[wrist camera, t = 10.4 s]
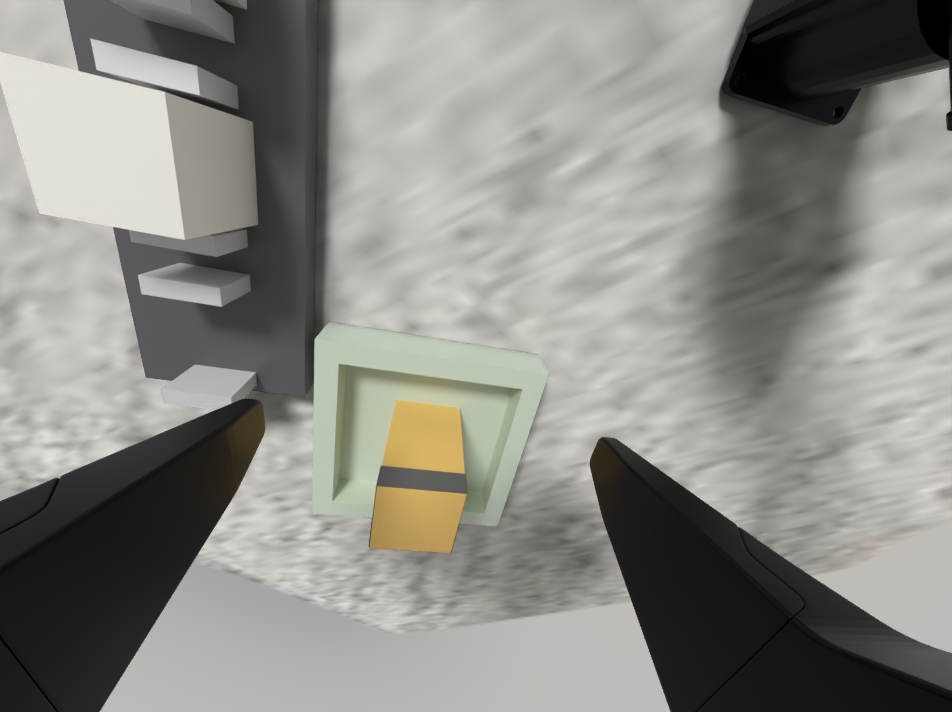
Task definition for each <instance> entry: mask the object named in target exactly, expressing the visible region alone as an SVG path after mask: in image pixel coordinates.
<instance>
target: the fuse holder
mask: <svg viewBox="0 0 952 712" xmlns="http://www.w3.org/2000/svg"><path fill="white" fill-rule="evenodd" d="M64 4H65V9H66V13H67V18H68V23H69V27H70V32H71V36H72V41H73V46H74V50H75V55H76V59H77V64H78V69H79V71H81V72H85V73H89V74H93V75H97V76H101V77H105V78H109V79H113V80H117V81H122V82H126V83H130V84H134V85H138V86H142V87H146V88H150V89H154V90H159V91H163V92H166V93H169V94H172V95H175V96H178V97H181V98H184V99H187V100H190V101H193V102H196V103H199V104H202V105H205V106H208V107H210V108H213V109H216V110H219V111H222V112H225V113H228V114H231V115H234V116H237V117H240V118H243V119H246V120H249V121H252V122H253V132H254V152H255V171H256V190H257V209H258V225H255V226H250V227H245V228H240V229H235V230H231V231H226V232H221V233H216V234H211V235H207V236H202V237H197V238H192V239H187V240H182V239H177V238H171V237H166V236H161V235H155V234H150V233H144V232H139V231H133V230H128V229H122V228H117V227H113V229H114V234H115V238H116V243H117V247H118V252H119V257H120V261H121V266H122V270H123V275H124V280H125V284H126V289H127V293H128V298H129V303H130V307H131V312H132V316H133V321H134V326H135V330H136V335H137V339H138V344H139V348H140V353H141V358H142V362H143V367H144V371H145V376H146V378H154V379H162V380H170V381H171V382H170V383H169V384H167V385H166V386H164V387H163V388H162V389H161V393H162V398H163V403H164V404H173V405H182V406H191V407H200V408H209V409H219V408H222V407H224V406H226V405H229V404H231V403H233V402H236V401H238V400H241V399H244V398H245V397H246V396H247V395H248V394H249V393H250V392H251V391H261V392H269V393H277V394H285V395H293V396H301V397H305V396H306V394H307V393H308V391H309V390H310V388H311V387H312V385H313V380H314V306H315V232H316V158H317V84H318V10H319V0H247V10H246V9H242V8H239V7H235V6H232V5H228V4H225V3H221V2H218V1H215V0H64Z"/></svg>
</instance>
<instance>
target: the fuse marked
mask: <svg viewBox="0 0 952 712" xmlns="http://www.w3.org/2000/svg"><path fill="white" fill-rule="evenodd" d="M467 494H468V491H467V479H466V474H465V469H464V456H463V443H462V429H461V416H460V408H456V407H448V406H440V405H433V404H425V403H417V402H409V401H402V400H396V403H395V408H394V412H393V417H392V421H391V426H390V430H389V435H388V440H387V444H386V449H385V453H384V458H383V462H382V466H380V471H379V475H378V479H377V484H376V491H375V499H374V507H373V515H372V524H371V532H370V540H369V548H375V549H392V550H409V551H426V552H443V553H451V552H452V548H453V545H454V541H455V538H456V534H457V530H458V527H459V523H460V519H461V516H462V512H463V508H464V505H465V501H466V498H467Z"/></svg>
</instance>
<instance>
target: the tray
mask: <svg viewBox="0 0 952 712" xmlns="http://www.w3.org/2000/svg"><path fill="white" fill-rule="evenodd" d="M548 375H549V373H548V372H547V370H546V368H545V366H544V364H543V363H542V361H541V359H540V357H539V356H538V354H532V353H525V352H519V351H512V350H506V349H500V348H493V347H487V346H481V345H474V344H468V343H462V342H455V341H449V340H443V339H436V338H430V337H424V336H417V335H411V334H405V333H398V332H392V331H386V330H379V329H373V328H367V327H360V326H354V325H348V324H341V323H335V322H329V323H328V324H327V325H326V326H325V327H324V329H323V330H322V331H321V332H320V333H319V334H318V336H317V337H316V338H315V344H314V415H313V485H312V513H313V514H327V515H341V516H356V517H370V518H372V515H373V507H374V499H375V491H376V484H377V479H378V475H379V471H380V466H382V462H383V458H384V453H385V449H386V444H387V440H388V435H389V430H390V426H391V421H392V417H393V412H394V408H395V403H396V400H402V401H409V402H417V403H425V404H433V405H440V406H448V407H456V408H460V416H461V429H462V443H463V456H464V469H465V474H466V479H467V491H468V494H467V498H466V501H465V505H464V508H463V512H462V516H461V519H460V523H459V524H470V525H484V526H498V524H499V521H500V518H501V515H502V512H503V509H504V506H505V503H506V500H507V497H508V494H509V491H510V488H511V485H512V482H513V479H514V476H515V473H516V470H517V467H518V464H519V461H520V458H521V455H522V452H523V449H524V446H525V443H526V440H527V437H528V434H529V431H530V428H531V425H532V422H533V420H534V417H535V414H536V411H537V408H538V405H539V402H540V399H541V396H542V393H543V390H544V387H545V384H546V381H547V378H548Z"/></svg>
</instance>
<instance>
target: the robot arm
mask: <svg viewBox="0 0 952 712" xmlns="http://www.w3.org/2000/svg"><path fill="white" fill-rule="evenodd" d="M944 68H949V80H950V106H951V111H950V112H949V113H947V115H946V121H947V130H949V131H952V0H754V3H753V5H752V7H751V10H750V12H749V15H748V17H747V20H746V22H745V25H744V32H743V35H742V37H741V40H740V42H739V45H738V47H737V49H736V52H735V54H734V57H733V59H732V62H731V64H730V66H729V69H728V71H727V74H726V76H725V79H724V82H723V90H724V92H725V94H727V95H728V96H732V97H735V98H738V99H741V100H744V101H747V102H750V103H754V104H757V105H760V106H763V107H766V108H769V109H773V110H776V111H779V112H782V113H785V114H788V115H791V116H795V117H798V118H801V119H804V120H807V121H810V122H813V123H817V124H820V125H823V126H829V125H835V124H838V123H840V122H841V121H842V120H843V119H844V118H845V117H846V115H847V113H848V112H849V110H850V108H851V106H852V104H853V102H854V101H855V99H856V97H857V95H858V93H859V92H860V90H861V88H864V87H868V86H872V85H876V84H881V83H885V82H889V81H893V80H898V79H902V78H906V77H910V76H915V75H919V74H923V73H927V72H932V71H936V70H940V69H944ZM736 76H738V78H739V83H738V85H737V86H735V83H734V82H735V78H736ZM834 110H835V114H834V116H833V112H834ZM264 432H265V421H264V411H263V404H262V402H261V401H259V400H252V399H241V400H238V401H236V402H233V403H231V404H229V405H226V406H224V407H222V408H219V409H217V410H215V411H212V412H210V413H208V414H205V415H203V416H201V417H198V418H196V419H193V420H191V421H189V422H186V423H184V424H182V425H179V426H177V427H175V428H172V429H170V430H168V431H165V432H163V433H161V434H158V435H156V436H153V437H151V438H149V439H146V440H144V441H142V442H139V443H137V444H135V445H132V446H130V447H128V448H125V449H123V450H120V451H118V452H116V453H113V454H111V455H109V456H106V457H104V458H102V459H99V460H97V461H95V462H92V463H90V464H88V465H85V466H83V467H80V468H78V469H76V470H73V471H71V472H69V473H66V474H64V475H62V476H61V477H60V479H59V478H54V479H52V480H50V481H47V482H45V483H43V484H40V485H38V486H36V487H33V488H31V489H29V490H26V491H24V492H21V493H19V494H17V495H14V496H12V497H9V498H7V499H4V500H2V501H0V712H100V710H101V709H102V707H103V705H104V704H105V702H106V701H107V699H108V697H109V696H110V694H111V693H112V691H113V689H114V688H115V686H116V684H117V683H118V681H119V680H120V678H121V677H122V675H123V673H124V672H125V670H126V668H127V667H128V665H129V664H130V662H131V660H132V659H133V657H134V656H135V654H136V652H137V651H138V649H139V648H140V646H141V644H142V643H143V641H144V639H145V638H146V636H147V635H148V633H149V632H150V630H151V628H152V627H153V625H154V624H155V622H156V620H157V619H158V617H159V616H160V614H161V612H162V611H163V609H164V608H165V606H166V604H167V603H168V601H169V599H170V598H171V596H172V594H173V593H174V592H175V590H176V588H177V587H178V585H179V583H180V582H181V580H182V579H183V577H184V575H185V574H186V572H187V570H188V569H189V567H190V566H191V564H192V563H193V561H194V559H195V558H196V556H197V555H198V553H199V551H200V550H201V548H202V547H203V545H204V543H205V542H206V540H207V539H208V537H209V535H210V534H211V532H212V531H213V529H214V527H215V526H216V524H217V523H218V521H219V519H220V518H221V516H222V515H223V513H224V511H225V510H226V508H227V506H228V505H229V503H230V502H231V500H232V498H233V497H234V495H235V493H236V492H237V490H238V488H239V486H240V484H241V482H242V480H243V478H244V476H245V474H246V471H247V469H248V467H249V465H250V463H251V461H252V459H253V457H254V455H255V453H256V451H257V448H258V446H259V444H260V442H261V440H262V438H263V436H264ZM590 469H591V473H592V477H593V481H594V486H595V490H596V494H597V498H598V502H599V506H600V510H601V514H602V518H603V521H604V524H605V527H606V530H607V532H608V535H609V538H610V541H611V544H612V547H613V550H614V552H615V555H616V558H617V561H618V564H619V567H620V569H621V572H622V575H623V578H624V581H625V584H626V586H627V589H628V592H629V595H630V598H631V601H632V603H633V606H634V609H635V612H636V615H637V617H638V620H639V623H640V626H641V629H642V632H643V635H644V638H645V640H646V643H647V646H648V649H649V652H650V655H651V657H652V660H653V663H654V666H655V669H656V672H657V675H658V677H659V680H660V683H661V686H662V689H663V692H664V694H665V697H666V700H667V703H668V706H669V709H670V711H671V712H952V653H950V652H946V651H943V650H940V649H937V648H934V647H931V646H929V645H926V644H923V643H921V642H918V641H916V640H914V639H912V638H910V637H908V636H905V635H904V634H902V633H900V632H898V631H896V630H894V629H892V628H891V627H889V626H887V625H886V624H884V623H883V622H881V621H879V620H878V619H876V618H875V617H873V616H872V615H870V614H869V613H867V612H865V611H864V610H862V609H861V608H859V607H858V606H856V605H854V604H853V603H852V602H850V601H848V600H847V599H845V598H844V597H842V596H841V595H839V594H838V593H836V592H835V591H833V590H831V589H830V588H829V587H827V586H826V585H824V584H822V583H821V582H819V581H817V580H816V579H815V578H813V577H812V576H810V575H809V574H807V573H806V572H804V571H803V570H801V569H800V568H798V567H797V566H795V565H794V564H792V563H791V562H789V561H788V560H786V559H785V558H783V557H782V556H780V555H779V554H777V553H776V552H774V551H773V550H771V549H770V548H769V547H767V546H766V545H764V544H763V543H761V542H760V541H759V540H757V539H756V538H754V537H753V536H751V535H750V534H749V533H747V532H746V531H745V530H743V529H742V528H740V527H737V525H736V524H735V523H733V522H732V521H730V520H729V519H728V518H726V517H725V516H723V515H722V514H721V513H719V512H718V511H716V510H715V509H714V508H712V507H711V506H709V505H708V504H707V503H705V502H704V501H702V500H701V499H700V498H698V497H697V496H695V495H694V494H693V493H691V492H690V491H688V490H687V489H686V488H684V487H683V486H681V485H680V484H679V483H677V482H676V481H674V480H673V479H672V478H670V477H669V476H667V475H666V474H665V473H663V472H662V471H660V470H659V469H658V468H656V467H655V466H653V465H652V464H651V463H649V462H648V461H646V460H645V459H644V458H642V457H641V456H639V455H638V454H637V453H635V452H634V451H632V450H631V449H630V448H628V447H627V446H625V445H624V444H623V443H621V442H620V441H618V440H617V439H615V438H608V437H601V438H600V439H599V440H598V442H597V444H596V447H595V449H594V451H593V454H592V456H591V459H590Z"/></svg>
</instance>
